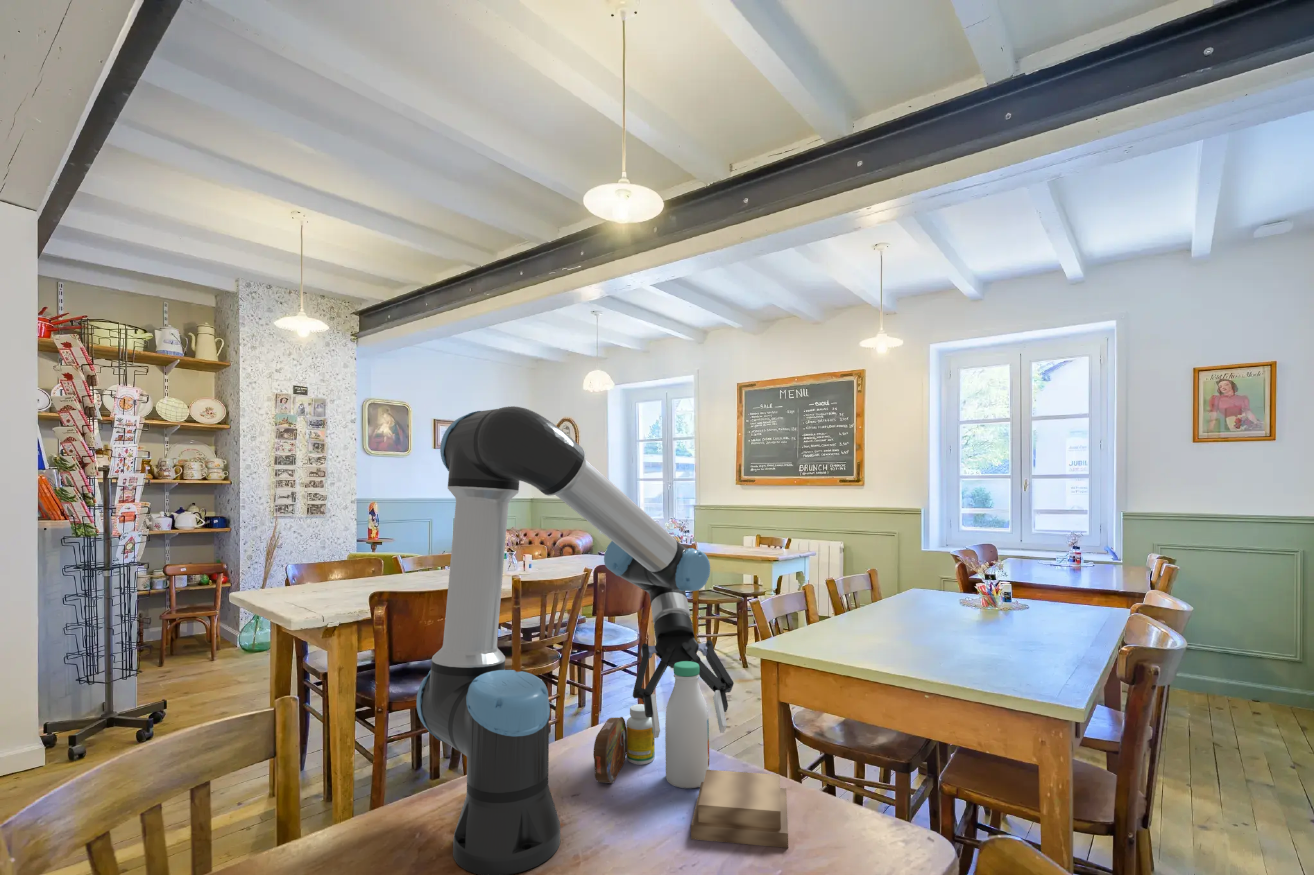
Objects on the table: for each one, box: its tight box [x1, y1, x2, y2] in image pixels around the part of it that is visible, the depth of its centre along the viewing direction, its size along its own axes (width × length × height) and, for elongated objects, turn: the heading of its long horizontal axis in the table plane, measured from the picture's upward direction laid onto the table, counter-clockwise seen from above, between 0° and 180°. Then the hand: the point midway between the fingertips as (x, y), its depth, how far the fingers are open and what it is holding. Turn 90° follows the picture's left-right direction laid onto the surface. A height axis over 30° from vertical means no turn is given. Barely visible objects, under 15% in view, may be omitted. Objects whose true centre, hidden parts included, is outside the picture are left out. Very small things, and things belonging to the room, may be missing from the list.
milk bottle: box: [664, 661, 710, 789], centre depth 116 cm, size 8×8×20 cm
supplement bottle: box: [625, 703, 656, 765], centre depth 125 cm, size 5×5×10 cm
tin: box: [593, 716, 627, 784], centre depth 119 cm, size 15×3×8 cm, turn 169°
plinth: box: [690, 769, 789, 849], centre depth 102 cm, size 14×14×4 cm
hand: (690, 732), depth 113 cm, fingers open, 11 cm apart
